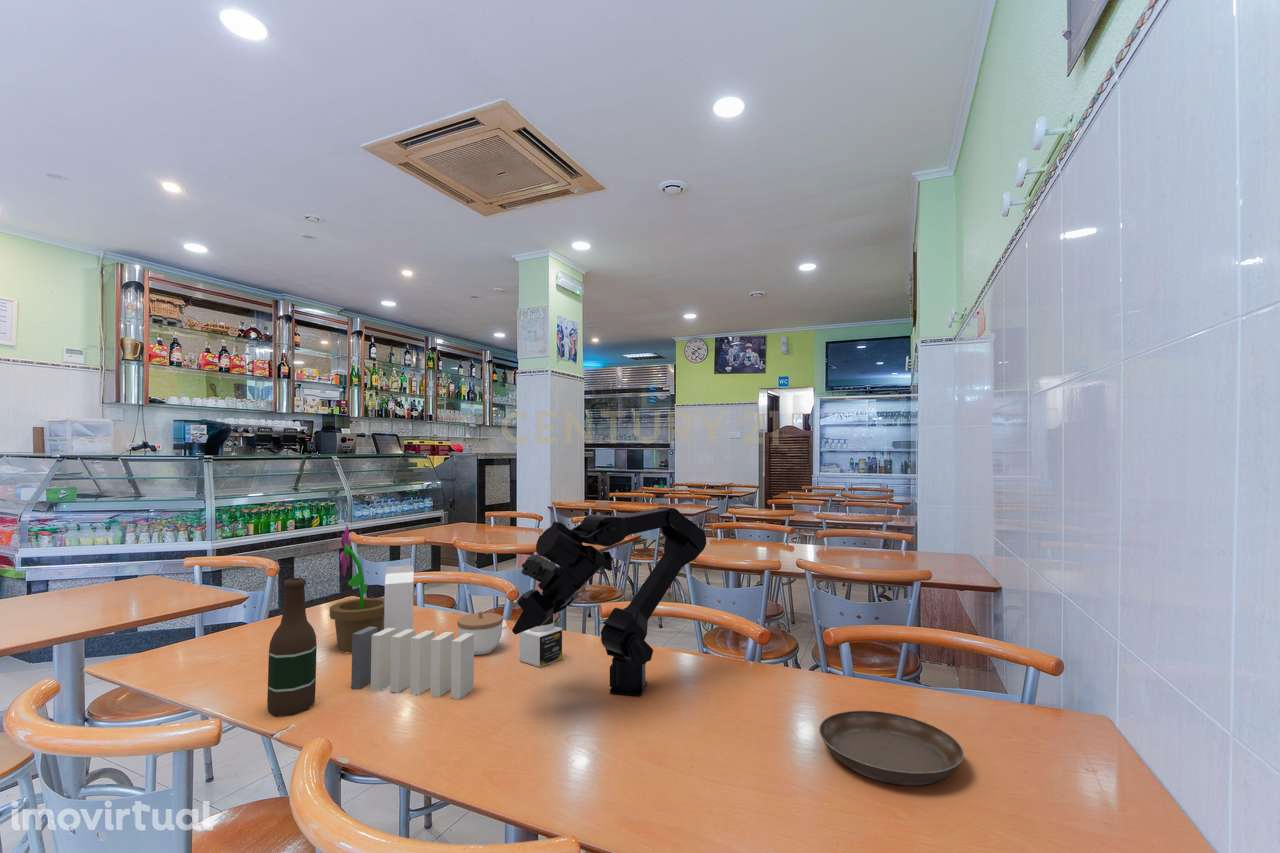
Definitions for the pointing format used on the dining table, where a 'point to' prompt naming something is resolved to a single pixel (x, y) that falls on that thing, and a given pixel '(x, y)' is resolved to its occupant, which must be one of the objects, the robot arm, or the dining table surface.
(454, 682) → the domino
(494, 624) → the lidded jar
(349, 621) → the flowerpot
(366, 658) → the domino
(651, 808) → the dining table surface
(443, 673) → the domino
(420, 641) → the domino
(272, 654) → the beer bottle
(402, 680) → the domino
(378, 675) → the domino
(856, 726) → the plant saucer
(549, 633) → the medicine bottle
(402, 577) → the milk
